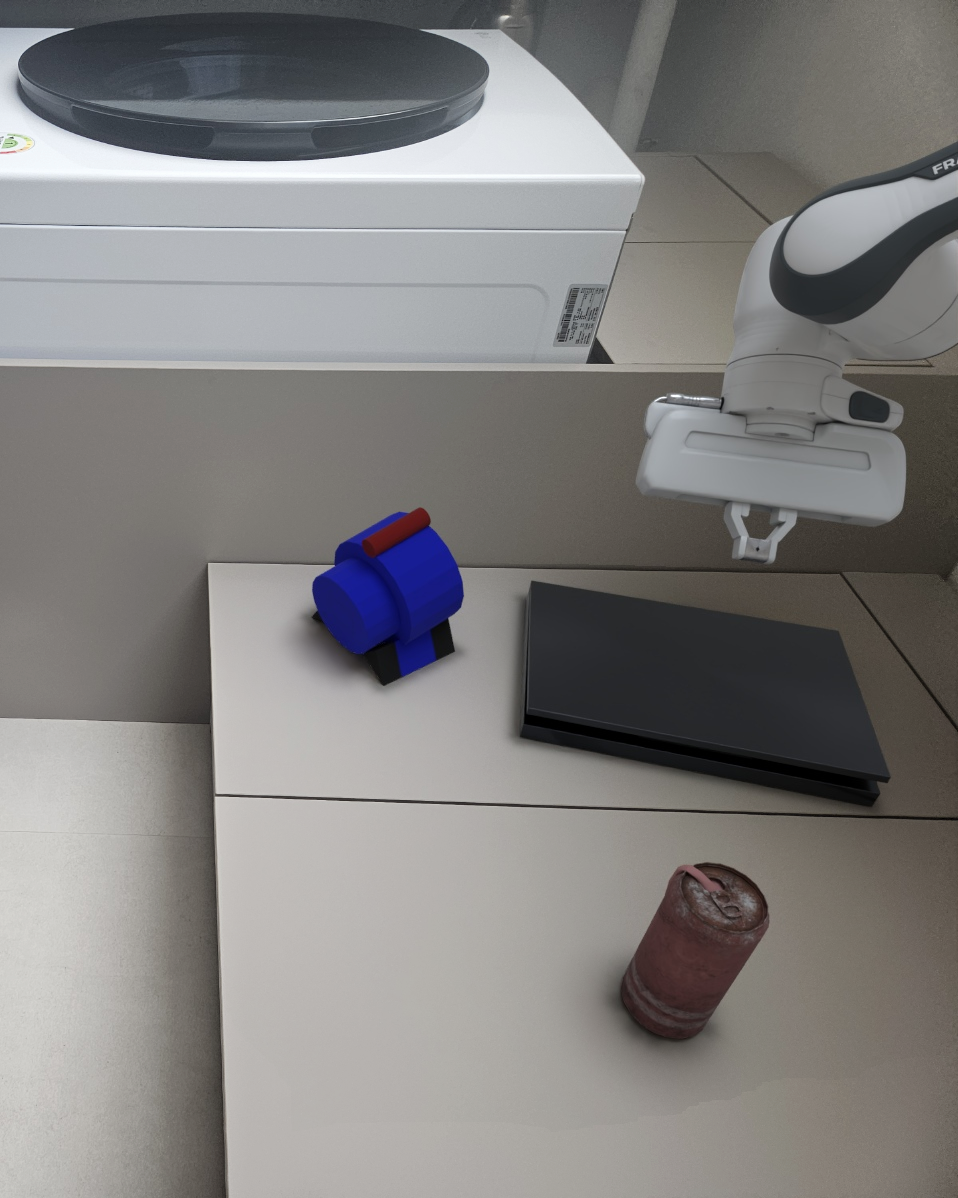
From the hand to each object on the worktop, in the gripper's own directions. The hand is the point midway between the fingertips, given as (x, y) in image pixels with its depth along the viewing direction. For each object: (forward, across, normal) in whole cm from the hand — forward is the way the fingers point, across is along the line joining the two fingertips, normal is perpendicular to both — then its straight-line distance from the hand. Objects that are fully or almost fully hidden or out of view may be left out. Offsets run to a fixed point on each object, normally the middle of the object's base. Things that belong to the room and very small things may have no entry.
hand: (752, 560), depth 89 cm
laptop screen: (+10, 0, +13) cm, 16 cm away
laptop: (+11, 0, +15) cm, 18 cm away
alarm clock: (+11, -30, +15) cm, 36 cm away
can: (+36, -4, -10) cm, 38 cm away
